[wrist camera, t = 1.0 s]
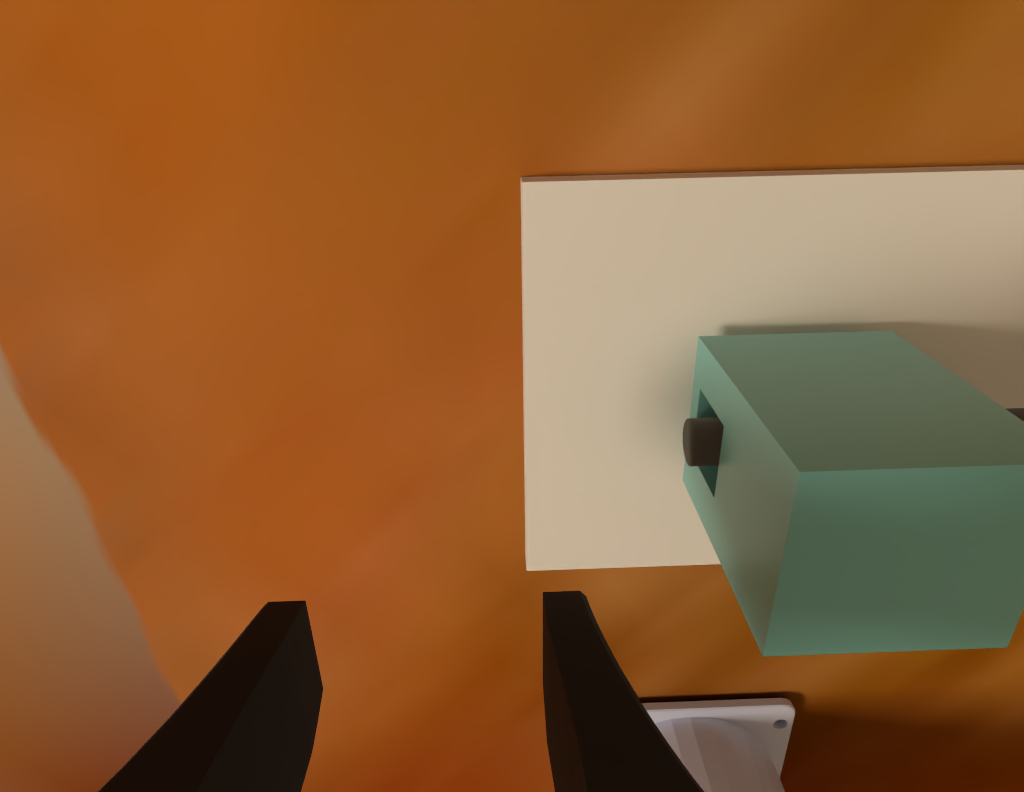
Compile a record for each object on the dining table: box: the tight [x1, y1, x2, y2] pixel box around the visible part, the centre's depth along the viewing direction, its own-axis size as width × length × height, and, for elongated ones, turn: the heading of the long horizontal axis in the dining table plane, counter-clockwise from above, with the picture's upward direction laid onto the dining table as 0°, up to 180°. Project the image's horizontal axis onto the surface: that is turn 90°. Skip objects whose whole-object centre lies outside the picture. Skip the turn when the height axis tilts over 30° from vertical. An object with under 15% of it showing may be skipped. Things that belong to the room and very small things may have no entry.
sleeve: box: [683, 331, 1024, 656], centre depth 16 cm, size 4×5×6 cm
